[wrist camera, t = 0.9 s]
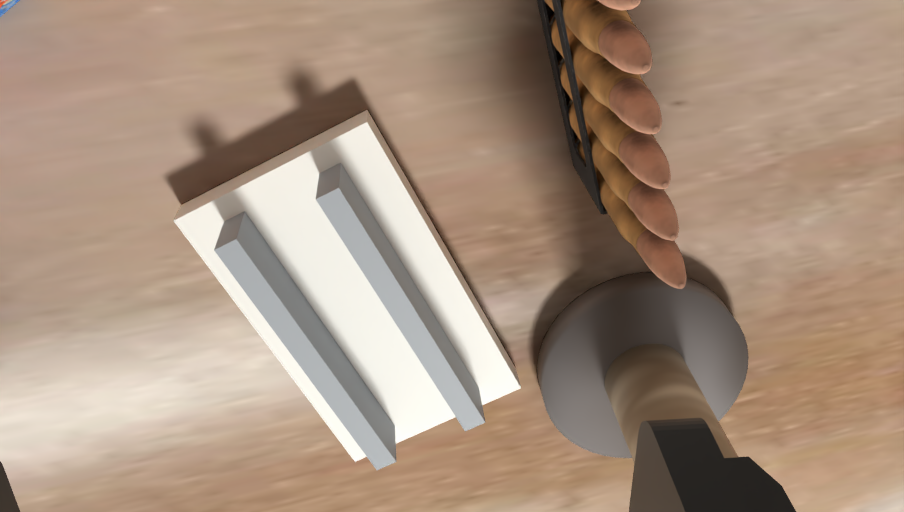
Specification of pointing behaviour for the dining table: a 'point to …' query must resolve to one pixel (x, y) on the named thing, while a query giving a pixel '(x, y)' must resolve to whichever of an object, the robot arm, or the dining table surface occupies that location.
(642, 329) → the bobbin post
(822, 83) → the dining table surface
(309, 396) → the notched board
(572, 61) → the ammunition clip
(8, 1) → the stack of blocks
